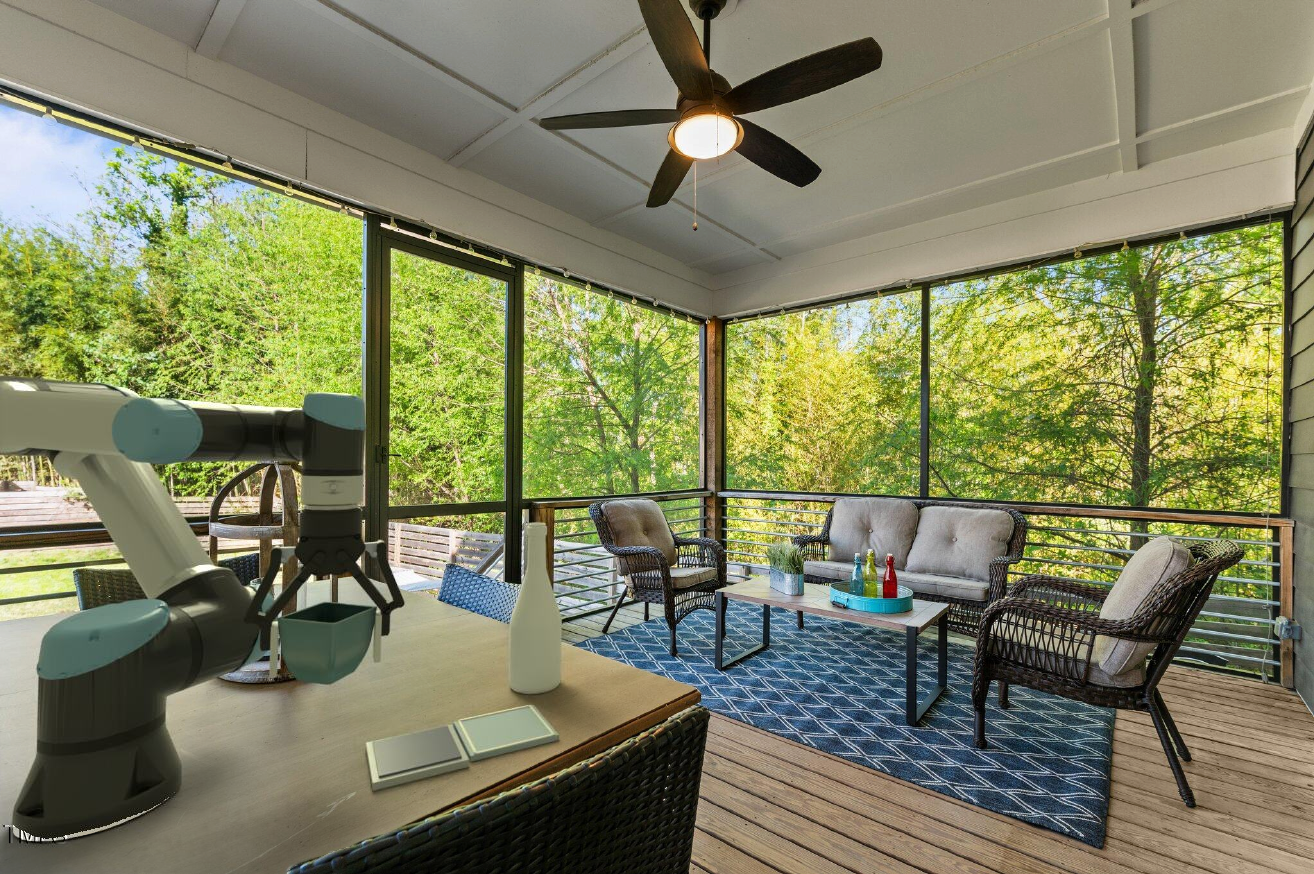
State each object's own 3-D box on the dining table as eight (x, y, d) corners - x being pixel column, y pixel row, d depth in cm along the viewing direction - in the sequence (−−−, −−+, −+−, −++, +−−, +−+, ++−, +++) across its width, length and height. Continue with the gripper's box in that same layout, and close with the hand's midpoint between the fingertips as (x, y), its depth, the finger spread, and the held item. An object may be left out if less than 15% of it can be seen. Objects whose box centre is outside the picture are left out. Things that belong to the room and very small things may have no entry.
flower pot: (332, 694, 76) (334, 623, 76) (272, 687, 77) (275, 617, 78) (376, 669, 84) (378, 605, 85) (321, 663, 86) (324, 601, 86)
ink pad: (372, 790, 76) (372, 780, 76) (365, 749, 87) (366, 740, 87) (468, 766, 82) (468, 757, 82) (451, 730, 92) (451, 722, 92)
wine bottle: (516, 675, 115) (518, 520, 116) (565, 676, 115) (567, 520, 116) (502, 695, 106) (504, 526, 106) (555, 696, 106) (557, 527, 106)
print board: (470, 761, 83) (470, 754, 83) (453, 726, 94) (453, 720, 94) (558, 740, 90) (558, 733, 90) (533, 709, 100) (533, 703, 100)
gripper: (220, 512, 72) (214, 692, 72) (429, 506, 84) (424, 661, 84) (228, 506, 79) (222, 671, 78) (421, 501, 90) (416, 645, 90)
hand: (326, 666), depth 81 cm, fingers closed on flower pot, 12 cm apart
